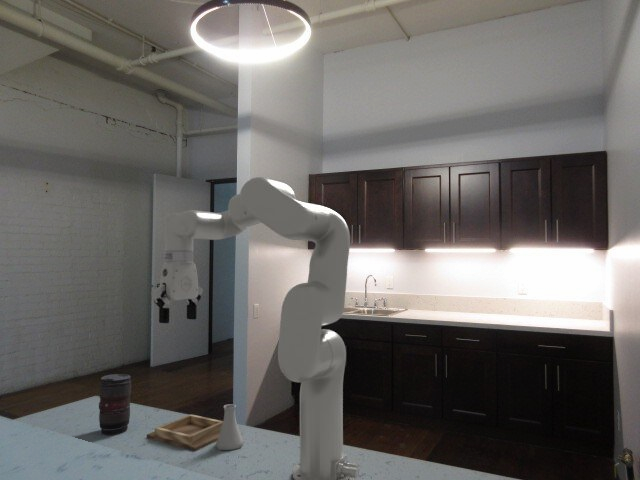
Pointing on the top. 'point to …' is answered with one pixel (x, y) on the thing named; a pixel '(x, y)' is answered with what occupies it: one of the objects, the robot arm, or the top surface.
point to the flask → (229, 431)
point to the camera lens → (114, 403)
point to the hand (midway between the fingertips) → (178, 321)
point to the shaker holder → (188, 432)
